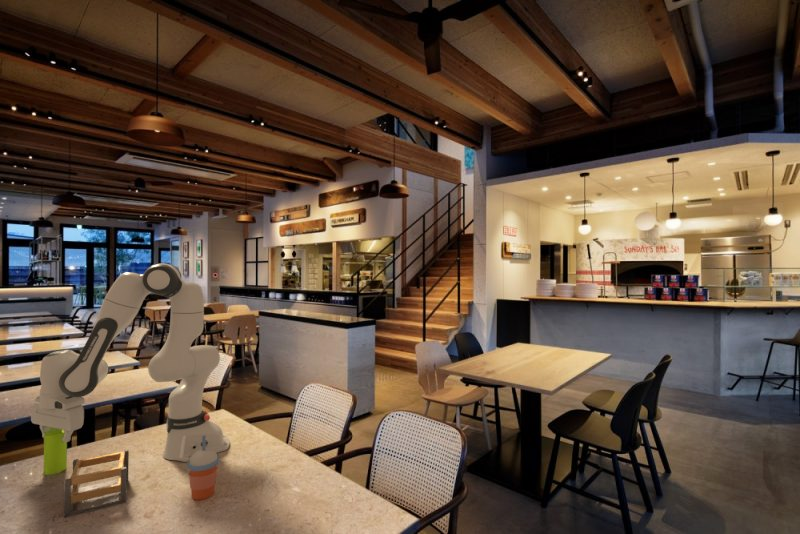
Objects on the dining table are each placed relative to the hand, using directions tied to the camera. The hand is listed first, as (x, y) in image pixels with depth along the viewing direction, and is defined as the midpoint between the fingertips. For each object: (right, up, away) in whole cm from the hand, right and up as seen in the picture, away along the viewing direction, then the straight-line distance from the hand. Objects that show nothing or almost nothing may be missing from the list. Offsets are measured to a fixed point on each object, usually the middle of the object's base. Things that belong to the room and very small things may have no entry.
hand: (56, 439), depth 134 cm
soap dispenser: (0, -11, 0) cm, 11 cm away
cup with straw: (+56, -12, -12) cm, 58 cm away
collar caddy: (+26, -11, -15) cm, 32 cm away
